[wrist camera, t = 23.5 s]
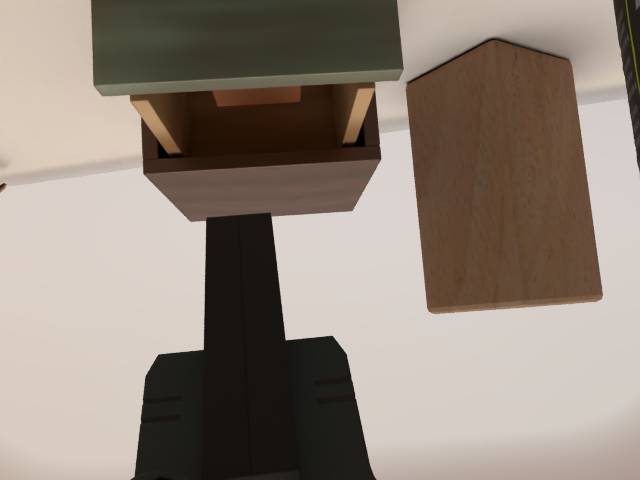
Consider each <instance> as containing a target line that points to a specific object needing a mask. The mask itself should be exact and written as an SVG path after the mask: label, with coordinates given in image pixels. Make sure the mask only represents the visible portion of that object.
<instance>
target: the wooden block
mask: <svg viewBox="0 0 640 480" xmlns="http://www.w3.org/2000/svg"><path fill="white" fill-rule="evenodd" d="M406 96H407V106H408V116H409V126H410V136H411V147H412V157H413V166H414V177H415V187H416V198H417V207H418V218H419V228H420V238H421V249H422V258H423V269H424V278H425V290H426V300H427V308H428V310H429V312H431V313H433V314H440V313H454V312H467V311H482V310H494V309H495V310H496V309H510V308H523V307H535V306H547V305H561V304H573V303H584V302H597V301H599V300H601V299H602V296H603V293H602V285H601V278H600V272H599V263H598V256H597V249H596V242H595V234H594V226H593V219H592V212H591V204H590V196H589V189H588V182H587V174H586V167H585V159H584V153H583V145H582V138H581V130H580V123H579V115H578V108H577V100H576V93H575V85H574V78H573V70H572V65H571V63H570V62H569V61H567V60H564V59H560V58H557V57H553V56H550V55H546V54H543V53H539V52H536V51H532V50H529V49H525V48H522V47H518V46H515V45H511V44H508V43H504V42H501V41H497V40H492V41H489V42H487V43H485V44H483V45H481V46H479V47H477V48H476V49H474V50H472V51H470V52H468V53H466V54H464V55H462V56H460V57H459V58H457V59H455V60H453V61H451V62H449V63H447V64H445V65H443V66H442V67H440V68H438V69H436V70H434V71H432V72H430V73H428V74H426V75H425V76H423V77H421V78H419V79H417V80H415V81H413V82H411V83H409V84H408V85H407V87H406Z"/></svg>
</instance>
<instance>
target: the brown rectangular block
mask: <svg viewBox="0 0 640 480" xmlns="http://www.w3.org/2000/svg"><path fill="white" fill-rule="evenodd" d="M212 92H213V95H214V98H215V101H216V104H217V106H219V107H220V106H237V105H255V104H273V103H290V102H300V101H301V86H286V87H267V88H249V89H230V90H212Z"/></svg>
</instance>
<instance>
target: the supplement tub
mask: <svg viewBox="0 0 640 480" xmlns="http://www.w3.org/2000/svg"><path fill="white" fill-rule="evenodd" d="M613 2H614V10H615V17H616V25H617V32H618V39H619V46H620V49H621V57H622V62H623V71H624V75H625V80H626V88H627V94H628V102H629V107H630V115H631V120H632V127H633V135H634V140H635V147H636V152H637V163H638V167H639V171H640V0H613Z"/></svg>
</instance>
